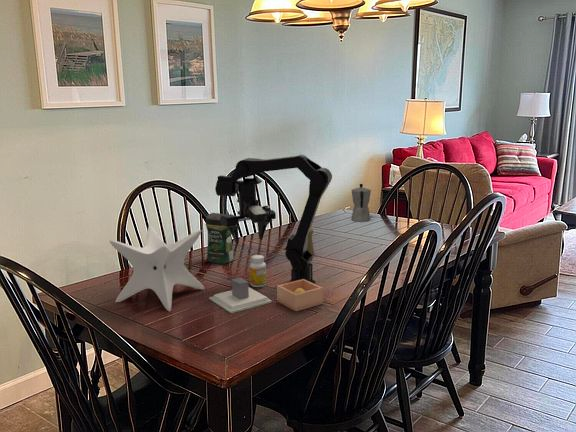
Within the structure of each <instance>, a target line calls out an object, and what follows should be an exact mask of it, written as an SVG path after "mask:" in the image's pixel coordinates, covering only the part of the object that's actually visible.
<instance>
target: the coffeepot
mask: <svg viewBox="0 0 576 432" xmlns="http://www.w3.org/2000/svg"><path fill="white" fill-rule="evenodd" d="M363 186H364V184H363V183H359V187H356V188H352V189H351V197H352V203H353V209H352V214H351V220H352V221H353V222H356V223H367V222H370V220H371V215H370V210H369V209H370V208H369V204H370V199H371V198H370V197H371V192H372V190H371V189H369V188H365V187H363Z"/></svg>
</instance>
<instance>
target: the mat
mask: <svg viewBox="0 0 576 432" xmlns="http://www.w3.org/2000/svg"><path fill="white" fill-rule="evenodd" d="M208 299H209V300H210V301H211V302H213V303H215V304H216V305H218V306H219V307H221V308H223V310H225V311H227V312H228V313H229V314H234V313H238V312H241V311H246V310H249V309H252V308H257V307H261V306H265V305H268V304H271V303H272V302H273V301H272V300H271V299H270V298H268V297H267V301H264V302H260V303H256V304H252V305H249V306H245V307H241V308H237V309H233V310H232V309H231V308H229V307H228V306H226V305H225V304H223V303H222V302H220V301H218V300H217V299H215V298H214V295H212V296H210V297H209V298H208Z"/></svg>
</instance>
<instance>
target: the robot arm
mask: <svg viewBox="0 0 576 432" xmlns="http://www.w3.org/2000/svg"><path fill="white" fill-rule="evenodd" d="M289 169H291V170H292V169H298V170H299V171H300V172H301V173H302V174H303V175H304V177H305V178H307V179H308V180H309V185H308V197H307V200H306V203H305V206H304V209H303V212H302V215H301V217H300V220H299V223H298V227H297V229H296V233H295V234H293V233H292V234H291V235H290V237H288V238H287V241H286V245H285V246H286V247H285V248H284V251H285V253H284V254H285V257H286V259H287V260H288V261H289V262H290V265H291V270H290V277H291V278H290V279H289V282H293V281H297V280H301V279H305V280H307V281H309V282H311V283H314V284H316V280H314V279H313V274H314V273H313V269H314V268H313V263H312V261H313V258H314V255H312V254H311V253H310V252H309V251H308V250H307V246H308V234H309V231H310V228H312V225H313V223H314V219H315V216H316V213H317V211H318V207H319V204H320V201H321V199H322V196H323V195H324V194H325V192H326V190H327V189H328V187H329V185H330V183H331V182H332V179H333V174H332V172H331V171H330V169H328V168H326V167H323V166H320V164H318V163H316V162H315V161H313V160H311V159H310V158H309V157H307V156H306V155H305V154H301V153H300V154H298V155H293V156H284V157H277V158H276V157H275V158H269V159H267V158H266V159H262V158H253V157H247V158H244V159H241V160H239V161H237V163H236V164H235V170H234V171H233V174H231V176H230V175H218V176H217V180H216V184H215V187H214V188H215V194H216V195H217V197H235V196H236V195H237V194H238V199H236V202H237V203H238V206H239V207H238V208H239V209H238V210H237V215H234V214H231V213H230V214H228V215H222V216H221V218H220V224H222V225H224V226H226V227H227V228H228V229H229V231H230V233H231V238H232V239H233V241H234V243H235V244H236V245H239V239H240V238H239V228H240V225H238V224H239V222H243V221H249V220H250V221H251V223H254V224H256V223H257V230H258V232H257V233H258V234H257V235H258V238H259V240H260V241H262V240H263V238H264V234H265V231H266V228H267V226H268V225H269V224H270V223H271V222H273V220H276V218H277V215H276V214H277V213H276V211H275V210H273V209H271V206H270V205H268V204H267V205H263V206H262V205H261V206H260V202H259V199H257V188H256V187H257V186H256V185H259V184H261V183H263V181H262V180H261V179H260V178H259V177H258V175H257V174H262V173H264V172H273V171H280V170H281V171H282V170H289ZM252 176H254V177H253V178H252ZM243 178H244V179H243ZM240 179H243V180H240Z"/></svg>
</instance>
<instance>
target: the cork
mask: <svg viewBox="0 0 576 432" xmlns="http://www.w3.org/2000/svg"><path fill="white" fill-rule="evenodd" d="M313 233H314V230H313V228H312V227H311V228H310V231H309V234H308V246H307V250H308V251H309V252H310V253H311V254H312V255H313V256H315V248H314V241H313V236H312V235H314V234H313Z"/></svg>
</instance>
